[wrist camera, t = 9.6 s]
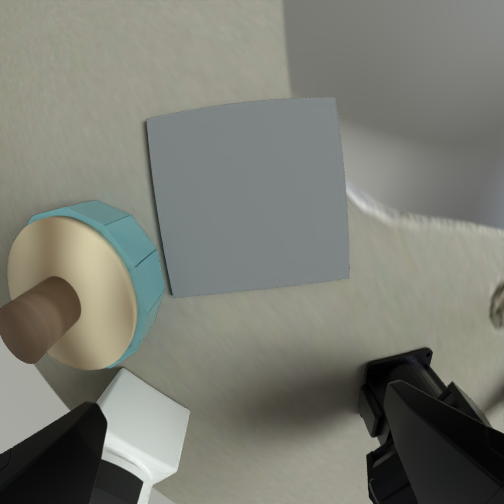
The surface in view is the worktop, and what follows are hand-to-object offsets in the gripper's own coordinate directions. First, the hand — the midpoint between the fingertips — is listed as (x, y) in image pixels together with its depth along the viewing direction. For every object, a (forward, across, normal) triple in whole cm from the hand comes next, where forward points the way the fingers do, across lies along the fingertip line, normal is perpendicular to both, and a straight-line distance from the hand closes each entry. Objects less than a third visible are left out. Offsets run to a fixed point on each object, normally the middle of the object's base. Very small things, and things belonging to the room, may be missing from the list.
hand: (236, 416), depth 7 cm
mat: (+12, -1, -5) cm, 14 cm away
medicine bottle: (+13, +11, +12) cm, 21 cm away
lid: (+8, +11, -1) cm, 14 cm away
